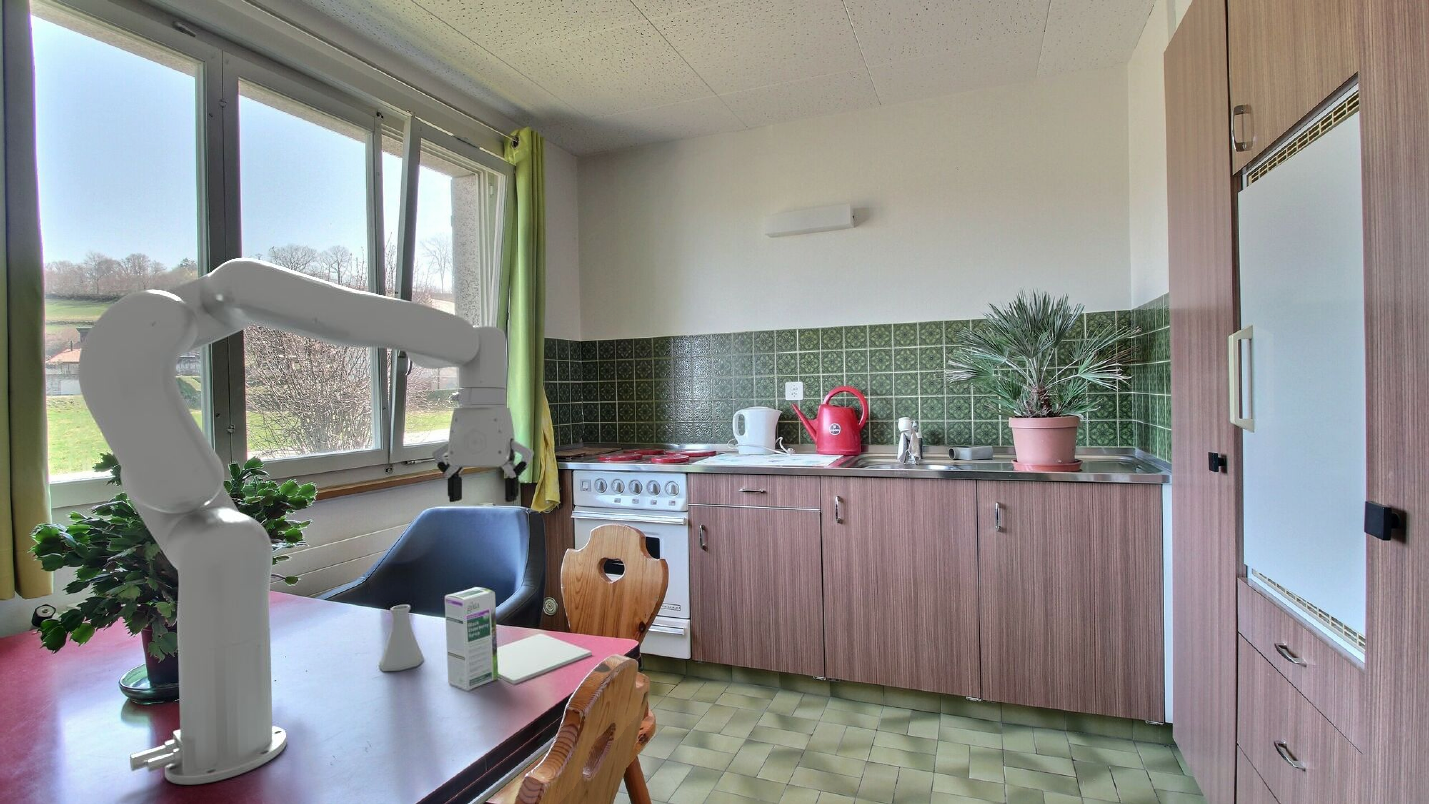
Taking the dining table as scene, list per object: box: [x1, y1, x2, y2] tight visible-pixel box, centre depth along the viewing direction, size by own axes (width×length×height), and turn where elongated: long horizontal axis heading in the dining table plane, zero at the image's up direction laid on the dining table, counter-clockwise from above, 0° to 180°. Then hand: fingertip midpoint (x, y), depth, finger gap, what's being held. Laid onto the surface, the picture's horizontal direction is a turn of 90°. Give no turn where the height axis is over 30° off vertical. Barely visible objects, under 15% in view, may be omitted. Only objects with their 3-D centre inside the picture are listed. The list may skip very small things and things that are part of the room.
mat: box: [497, 633, 592, 685], centre depth 116 cm, size 16×16×1 cm
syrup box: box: [444, 586, 499, 692], centre depth 107 cm, size 6×6×14 cm
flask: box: [378, 604, 425, 672], centre depth 115 cm, size 7×7×10 cm
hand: (483, 501), depth 111 cm, fingers open, 9 cm apart
